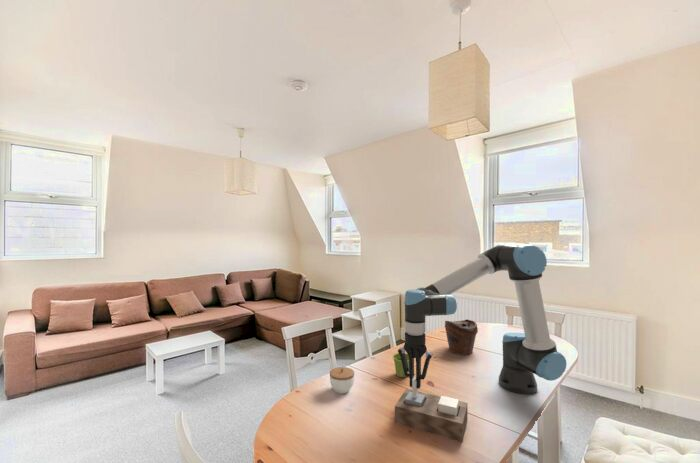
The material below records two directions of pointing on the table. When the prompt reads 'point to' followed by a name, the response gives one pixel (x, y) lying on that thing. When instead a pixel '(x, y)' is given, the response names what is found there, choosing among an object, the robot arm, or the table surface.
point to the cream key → (448, 405)
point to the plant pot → (400, 364)
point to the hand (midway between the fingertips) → (415, 396)
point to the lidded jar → (341, 379)
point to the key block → (432, 417)
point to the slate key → (415, 400)
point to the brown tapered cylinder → (461, 336)
